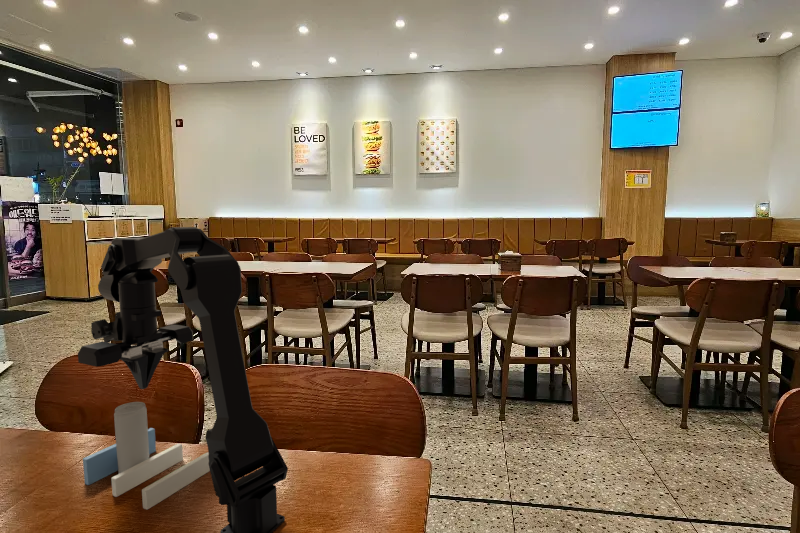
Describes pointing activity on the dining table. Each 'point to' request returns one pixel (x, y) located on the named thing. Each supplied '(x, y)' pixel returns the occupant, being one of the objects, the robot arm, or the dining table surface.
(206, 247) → the robot arm
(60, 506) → the dining table surface
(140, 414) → the beverage can
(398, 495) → the dining table surface
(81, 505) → the dining table surface
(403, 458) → the dining table surface
